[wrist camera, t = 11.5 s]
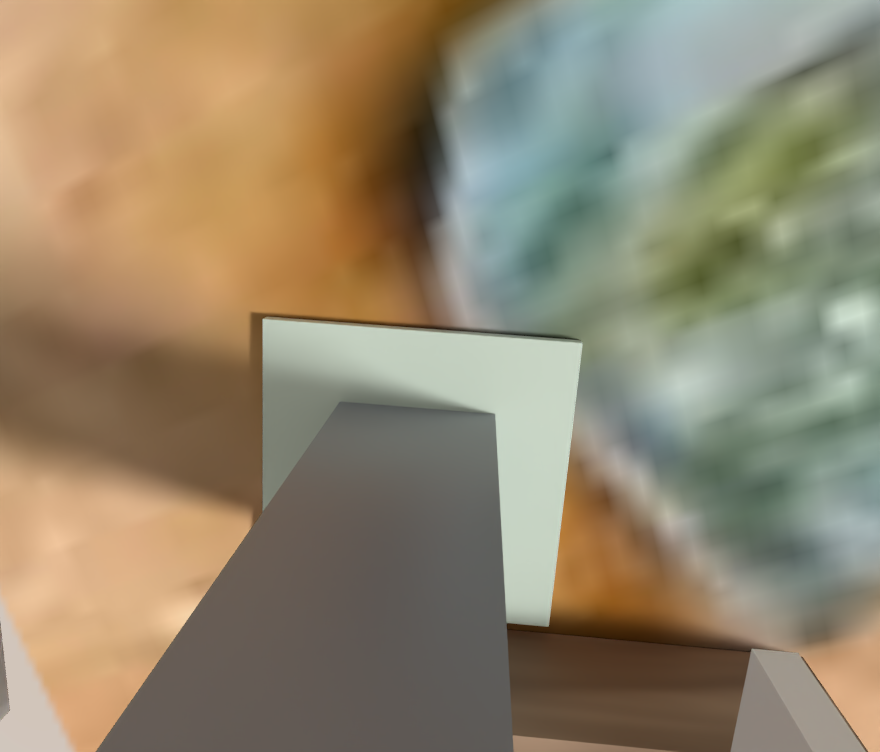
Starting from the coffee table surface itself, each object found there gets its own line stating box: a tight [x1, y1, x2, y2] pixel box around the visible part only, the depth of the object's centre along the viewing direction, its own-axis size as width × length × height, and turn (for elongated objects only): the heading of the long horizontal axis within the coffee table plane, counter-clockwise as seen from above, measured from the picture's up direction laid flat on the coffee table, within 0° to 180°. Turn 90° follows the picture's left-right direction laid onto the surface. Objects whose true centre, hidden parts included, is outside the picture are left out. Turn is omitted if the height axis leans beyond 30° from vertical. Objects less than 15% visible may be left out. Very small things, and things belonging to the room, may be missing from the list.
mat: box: [263, 317, 583, 627], centre depth 21 cm, size 9×9×1 cm
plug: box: [96, 402, 514, 752], centre depth 13 cm, size 5×5×16 cm
